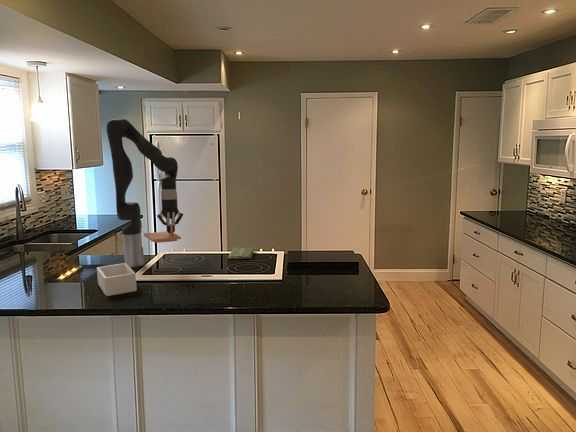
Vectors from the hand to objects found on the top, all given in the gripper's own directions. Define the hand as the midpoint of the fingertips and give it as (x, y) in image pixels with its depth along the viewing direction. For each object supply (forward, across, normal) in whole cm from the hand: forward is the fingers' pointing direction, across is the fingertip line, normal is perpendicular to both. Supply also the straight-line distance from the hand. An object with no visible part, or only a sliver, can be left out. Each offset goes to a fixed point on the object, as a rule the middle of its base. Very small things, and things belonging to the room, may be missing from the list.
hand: (170, 233), depth 243 cm
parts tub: (+21, +28, +13) cm, 37 cm away
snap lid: (+3, +4, 0) cm, 5 cm away
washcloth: (+18, -41, -9) cm, 45 cm away
